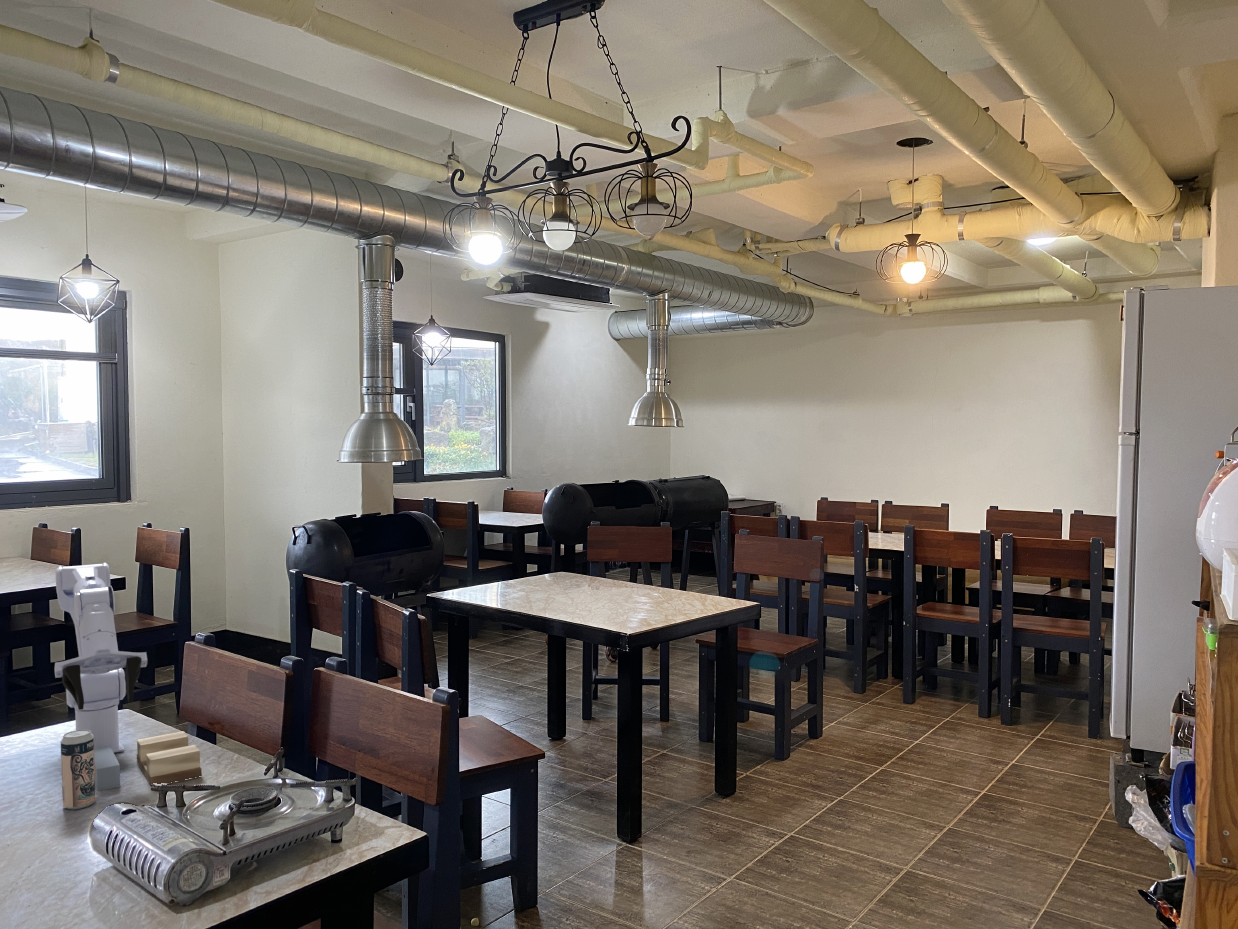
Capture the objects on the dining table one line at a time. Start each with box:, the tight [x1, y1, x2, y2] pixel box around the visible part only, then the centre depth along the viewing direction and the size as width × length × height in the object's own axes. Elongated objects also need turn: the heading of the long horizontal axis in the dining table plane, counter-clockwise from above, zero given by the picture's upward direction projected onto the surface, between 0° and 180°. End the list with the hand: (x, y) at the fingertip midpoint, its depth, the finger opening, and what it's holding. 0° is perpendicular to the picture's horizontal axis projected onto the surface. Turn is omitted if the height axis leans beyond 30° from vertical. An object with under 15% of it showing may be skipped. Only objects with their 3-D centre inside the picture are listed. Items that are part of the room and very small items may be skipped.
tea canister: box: [60, 729, 97, 811], centre depth 153 cm, size 5×5×12 cm
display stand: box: [136, 730, 203, 786], centre depth 169 cm, size 16×8×4 cm, turn 36°
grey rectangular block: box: [94, 745, 121, 792], centre depth 166 cm, size 13×4×4 cm, turn 35°
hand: (106, 702), depth 163 cm, fingers open, 7 cm apart
